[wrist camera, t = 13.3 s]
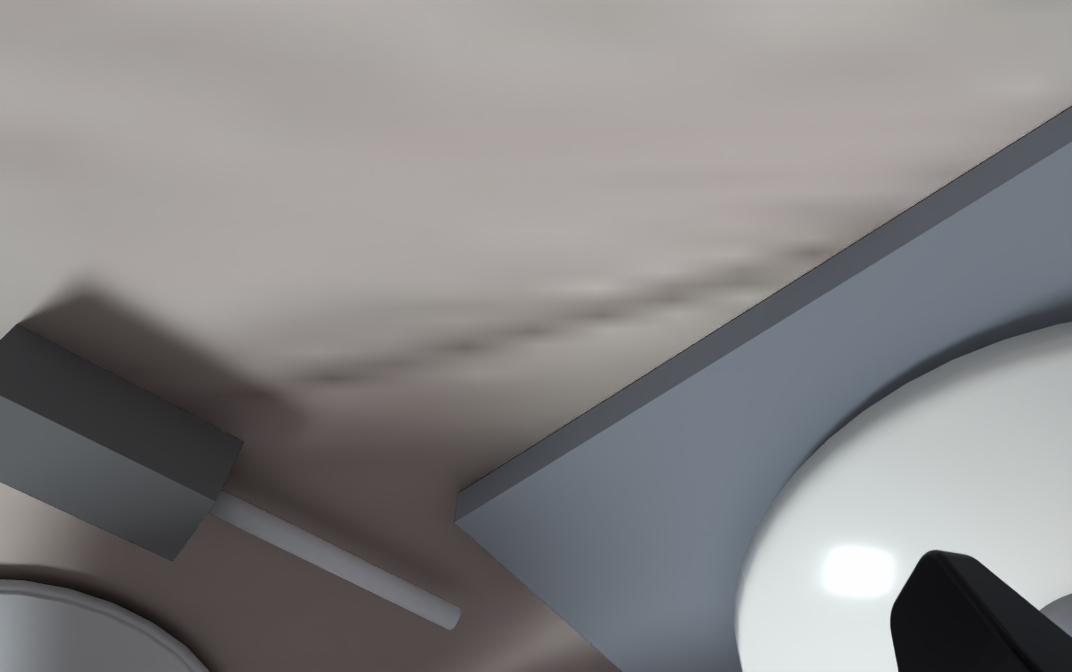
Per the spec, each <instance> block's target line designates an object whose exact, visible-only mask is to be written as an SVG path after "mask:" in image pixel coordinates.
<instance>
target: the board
mask: <svg viewBox="0 0 1072 672" xmlns="http://www.w3.org/2000/svg"><path fill="white" fill-rule="evenodd" d="M1068 322H1072V107H1070V108H1069V109H1067V110H1066V111H1064V112H1063V113H1061V114H1059V115H1058V116H1056V117H1055V118H1053V119H1051V120H1050V121H1048V122H1047V123H1045V124H1043V125H1042V126H1040V127H1039V128H1037V129H1036V130H1034V131H1032V132H1031V133H1029V134H1028V135H1026V136H1024V137H1023V138H1021V139H1020V140H1018V141H1017V142H1015V143H1013V144H1012V145H1010V146H1009V147H1007V148H1005V149H1004V150H1002V151H1001V152H999V153H997V154H996V155H994V156H993V157H991V158H990V159H988V160H986V161H985V162H983V163H982V164H980V165H978V166H977V167H975V168H974V169H972V170H971V171H969V172H967V173H966V174H964V175H963V176H961V177H959V178H958V179H956V180H955V181H953V182H951V183H950V184H948V185H947V186H945V187H944V188H942V189H940V190H939V191H937V192H936V193H934V194H932V195H931V196H929V197H928V198H926V199H925V200H923V201H921V202H920V203H918V204H917V205H915V206H913V207H912V208H910V209H909V210H907V211H905V212H904V213H902V214H901V215H899V216H898V217H896V218H894V219H893V220H891V221H890V222H888V223H886V224H885V225H883V226H882V227H880V228H878V229H877V230H875V231H874V232H872V233H871V234H869V235H867V236H866V237H864V238H863V239H861V240H859V241H858V242H856V243H855V244H853V245H852V246H850V247H848V248H847V249H845V250H844V251H842V252H840V253H839V254H837V255H836V256H834V257H832V258H831V259H829V260H828V261H826V262H825V263H823V264H821V265H820V266H818V267H817V268H815V269H813V270H812V271H810V272H809V273H807V274H806V275H804V276H802V277H801V278H799V279H798V280H796V281H794V282H793V283H791V284H790V285H788V286H786V287H785V288H783V289H782V290H780V291H779V292H777V293H775V294H774V295H772V296H771V297H769V298H767V299H766V300H764V301H763V302H761V303H759V304H758V305H756V306H755V307H753V308H752V309H750V310H748V311H747V312H745V313H744V314H742V315H740V316H739V317H737V318H736V319H734V320H733V321H731V322H729V323H728V324H726V325H725V326H723V327H721V328H720V329H718V330H717V331H715V332H713V333H712V334H710V335H709V336H707V337H706V338H704V339H702V340H701V341H699V342H698V343H696V344H694V345H693V346H691V347H690V348H688V349H687V350H685V351H683V352H682V353H680V354H679V355H677V356H675V357H674V358H672V359H671V360H669V361H667V362H666V363H664V364H663V365H661V366H660V367H658V368H656V369H655V370H653V371H652V372H650V373H648V374H647V375H645V376H644V377H642V378H640V379H639V380H637V381H636V382H634V383H633V384H631V385H629V386H628V387H626V388H625V389H623V390H621V391H620V392H618V393H617V394H615V395H614V396H612V397H610V398H609V399H607V400H606V401H604V402H602V403H601V404H599V405H598V406H596V407H594V408H593V409H591V410H590V411H588V412H587V413H585V414H583V415H582V416H580V417H579V418H577V419H575V420H574V421H572V422H571V423H569V424H568V425H566V426H564V427H563V428H561V429H560V430H558V431H556V432H555V433H553V434H552V435H550V436H548V437H547V438H545V439H544V440H542V441H541V442H539V443H537V444H536V445H534V446H533V447H531V448H529V449H528V450H526V451H525V452H523V453H521V454H520V455H518V456H517V457H515V458H514V459H512V460H510V461H509V462H507V463H506V464H504V465H502V466H501V467H499V468H498V469H496V470H495V471H493V472H491V473H490V474H488V475H487V476H485V477H483V478H482V479H480V480H479V481H477V482H475V483H474V484H472V485H471V486H469V487H468V488H466V489H464V490H463V491H461V492H460V493H458V496H457V505H456V514H455V522H454V523H455V524H457V525H458V526H459V527H460V528H461V529H462V530H463V531H464V532H466V533H467V534H468V535H469V536H470V537H471V538H472V539H473V540H475V541H476V542H477V543H478V544H479V545H480V546H481V547H482V548H484V549H485V550H486V551H487V552H488V553H489V554H490V555H491V556H493V557H494V558H495V559H496V560H497V561H498V562H499V563H500V564H502V565H503V566H504V567H505V568H506V569H507V570H508V571H509V572H511V573H512V574H513V575H514V576H515V577H516V578H517V579H518V580H520V581H521V582H522V583H523V584H524V585H525V586H526V587H527V588H529V589H530V590H531V591H532V592H533V593H534V594H535V595H536V596H538V597H539V598H540V599H541V600H542V601H543V602H544V603H545V604H546V605H548V606H549V607H550V608H551V609H552V610H553V611H554V612H555V613H557V614H558V615H559V616H560V617H561V618H562V619H563V620H564V621H566V622H567V623H568V624H569V625H570V626H571V627H572V628H573V629H575V630H576V631H577V632H578V633H579V634H580V635H581V636H582V637H584V638H585V639H586V640H587V641H588V642H589V643H590V644H591V645H593V646H594V647H595V648H596V649H597V650H598V651H599V652H600V653H602V654H603V655H604V656H605V657H606V658H607V659H608V660H609V661H611V662H612V663H613V664H614V665H615V666H616V667H617V668H618V669H620V670H621V671H622V672H742V668H741V664H740V660H739V655H738V651H737V645H736V639H735V633H734V627H733V607H734V593H735V588H736V583H737V579H738V574H739V569H740V565H741V563H742V560H743V558H744V555H745V553H746V550H747V548H748V545H749V543H750V540H751V538H752V535H753V533H754V531H755V530H756V528H757V526H758V525H759V523H760V521H761V520H762V518H763V516H764V514H765V513H766V511H767V509H768V508H769V506H770V504H771V503H772V501H773V500H774V499H775V497H776V496H777V495H778V494H779V492H780V491H781V490H782V489H783V487H784V486H785V485H786V483H787V482H788V481H789V480H790V478H791V477H792V476H793V474H794V473H795V472H796V471H797V470H798V469H799V468H800V467H801V466H802V465H803V464H804V463H805V462H806V461H807V460H808V459H809V458H810V457H811V456H812V455H813V454H814V453H815V452H816V451H817V450H818V449H819V448H820V447H821V446H822V445H823V444H824V443H825V442H826V441H827V440H828V439H829V438H830V437H832V436H833V435H834V434H835V433H837V432H838V431H839V430H840V429H842V428H843V427H844V426H846V425H847V424H848V423H849V422H851V421H852V420H853V419H854V418H856V417H857V416H858V415H859V414H861V413H862V412H863V411H864V410H866V409H867V408H869V407H871V406H872V405H874V404H875V403H877V402H878V401H880V400H882V399H883V398H885V397H886V396H888V395H889V394H891V393H892V392H894V391H896V390H897V389H899V388H900V387H902V386H903V385H905V384H907V383H908V382H910V381H912V380H914V379H916V378H918V377H920V376H922V375H924V374H926V373H928V372H930V371H932V370H934V369H936V368H938V367H940V366H942V365H944V364H946V363H948V362H950V361H952V360H954V359H956V358H959V357H961V356H964V355H966V354H969V353H971V352H974V351H976V350H979V349H981V348H984V347H987V346H989V345H992V344H994V343H997V342H999V341H1002V340H1005V339H1008V338H1012V337H1015V336H1018V335H1022V334H1025V333H1029V332H1032V331H1036V330H1039V329H1043V328H1046V327H1050V326H1053V325H1057V324H1062V323H1068Z"/></svg>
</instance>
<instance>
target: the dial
mask: <svg viewBox="0 0 1072 672" xmlns="http://www.w3.org/2000/svg"><path fill="white" fill-rule="evenodd" d="M931 550H942V551H949V552H955V553H961V554H966V555H969V556H972V557H974V558H975V559H977V560H978V561H979V562H980V563H982V564H983V565H984V566H985V567H987V568H988V569H989V570H990V571H991V572H993V573H994V574H995V575H996V576H998V577H999V578H1000V579H1001V580H1002V581H1004V582H1005V583H1006V584H1007V585H1009V586H1010V587H1011V588H1012V589H1013V590H1015V591H1016V592H1017V593H1018V594H1020V595H1021V596H1022V597H1023V598H1024V599H1026V600H1027V601H1028V602H1029V603H1031V604H1032V605H1033V606H1034V607H1036V608H1037V609H1038V610H1039V611H1040V612H1042V613H1043V614H1044V615H1045V616H1047V617H1048V618H1049V619H1050V620H1051V621H1053V622H1054V623H1055V624H1056V625H1058V626H1059V627H1060V628H1061V629H1062V630H1064V631H1065V632H1066V633H1067V634H1069V635H1070V636H1071V637H1072V322H1068V323H1062V324H1057V325H1053V326H1050V327H1046V328H1043V329H1039V330H1036V331H1032V332H1029V333H1025V334H1022V335H1018V336H1015V337H1012V338H1008V339H1005V340H1002V341H999V342H997V343H994V344H992V345H989V346H987V347H984V348H981V349H979V350H976V351H974V352H971V353H969V354H966V355H964V356H961V357H959V358H956V359H954V360H952V361H950V362H948V363H946V364H944V365H942V366H940V367H938V368H936V369H934V370H932V371H930V372H928V373H926V374H924V375H922V376H920V377H918V378H916V379H914V380H912V381H910V382H908V383H907V384H905V385H903V386H902V387H900V388H899V389H897V390H896V391H894V392H892V393H891V394H889V395H888V396H886V397H885V398H883V399H882V400H880V401H878V402H877V403H875V404H874V405H872V406H871V407H869V408H867V409H866V410H864V411H863V412H862V413H861V414H859V415H858V416H857V417H856V418H854V419H853V420H852V421H851V422H849V423H848V424H847V425H846V426H844V427H843V428H842V429H840V430H839V431H838V432H837V433H835V434H834V435H833V436H832V437H830V438H829V439H828V440H827V441H826V442H825V443H824V444H823V445H822V446H821V447H820V448H819V449H818V450H817V451H816V452H815V453H814V454H813V455H812V456H811V457H810V458H809V459H808V460H807V461H806V462H805V463H804V464H803V465H802V466H801V467H800V468H799V469H798V470H797V471H796V472H795V473H794V474H793V476H792V477H791V478H790V480H789V481H788V482H787V483H786V485H785V486H784V487H783V489H782V490H781V491H780V492H779V494H778V495H777V496H776V497H775V499H774V500H773V501H772V503H771V504H770V506H769V508H768V509H767V511H766V513H765V514H764V516H763V518H762V520H761V521H760V523H759V525H758V526H757V528H756V530H755V531H754V533H753V535H752V538H751V540H750V543H749V545H748V548H747V550H746V553H745V555H744V558H743V560H742V563H741V565H740V569H739V574H738V579H737V583H736V588H735V593H734V607H733V627H734V633H735V639H736V645H737V651H738V655H739V660H740V664H741V668H742V672H898V667H897V662H896V657H895V652H894V646H893V641H892V636H891V630H890V615H891V610H892V607H893V604H894V602H895V600H896V598H897V597H898V595H899V593H900V592H901V590H902V588H903V587H904V585H905V583H906V582H907V580H908V578H909V577H910V575H911V573H912V571H913V570H914V568H915V566H916V565H917V563H918V561H919V560H920V558H921V557H922V556H923V555H924V554H925V553H927V552H928V551H931Z"/></svg>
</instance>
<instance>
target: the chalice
mask: <svg viewBox="0 0 1072 672" xmlns="http://www.w3.org/2000/svg"><path fill="white" fill-rule="evenodd" d="M0 672H210V671H209V670H208V669H207V668H206V667H205V666H204V665H203V664H202V663H201V661H200V660H199V659H198V658H197V657H196V656H195V655H194V654H193V653H192V652H191V651H190V650H189V649H188V648H187V647H186V646H185V645H184V644H182V643H181V642H179V641H178V640H177V639H175V638H174V637H172V636H171V635H170V634H168V633H167V632H165V631H164V630H163V629H161V628H160V627H158V626H157V625H156V624H154V623H152V622H150V621H148V620H146V619H144V618H142V617H140V616H138V615H136V614H134V613H132V612H130V611H128V610H126V609H124V608H122V607H120V606H118V605H116V604H114V603H112V602H109V601H106V600H103V599H99V598H96V597H93V596H90V595H87V594H84V593H81V592H78V591H75V590H72V589H69V588H63V587H58V586H52V585H47V584H41V583H36V582H30V581H24V580H0Z"/></svg>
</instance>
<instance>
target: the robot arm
mask: <svg viewBox="0 0 1072 672" xmlns="http://www.w3.org/2000/svg"><path fill="white" fill-rule="evenodd" d="M890 630H891V636H892V641H893V646H894V652H895V657H896V662H897V667H898V672H1072V637H1071V636H1070V635H1069V634H1067V633H1066V632H1065V631H1064V630H1062V629H1061V628H1060V627H1059V626H1058V625H1056V624H1055V623H1054V622H1053V621H1051V620H1050V619H1049V618H1048V617H1047V616H1045V615H1044V614H1043V613H1042V612H1040V611H1039V610H1038V609H1037V608H1036V607H1034V606H1033V605H1032V604H1031V603H1029V602H1028V601H1027V600H1026V599H1024V598H1023V597H1022V596H1021V595H1020V594H1018V593H1017V592H1016V591H1015V590H1013V589H1012V588H1011V587H1010V586H1009V585H1007V584H1006V583H1005V582H1004V581H1002V580H1001V579H1000V578H999V577H998V576H996V575H995V574H994V573H993V572H991V571H990V570H989V569H988V568H987V567H985V566H984V565H983V564H982V563H980V562H979V561H978V560H977V559H975V558H974V557H972V556H969V555H966V554H961V553H955V552H949V551H942V550H931V551H928V552H927V553H925V554H924V555H923V556H922V557H921V558H920V560H919V561H918V563H917V565H916V566H915V568H914V570H913V571H912V573H911V575H910V577H909V578H908V580H907V582H906V583H905V585H904V587H903V588H902V590H901V592H900V593H899V595H898V597H897V598H896V600H895V602H894V604H893V607H892V610H891V615H890Z"/></svg>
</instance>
